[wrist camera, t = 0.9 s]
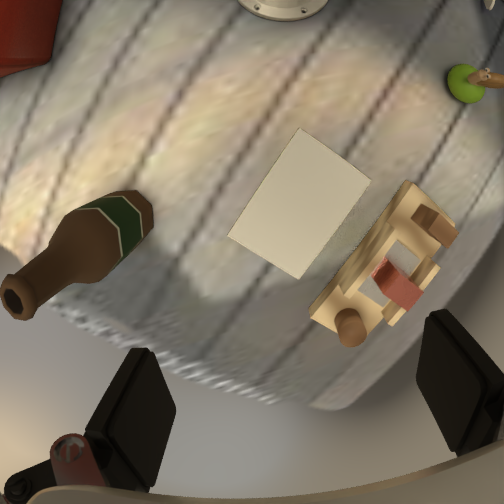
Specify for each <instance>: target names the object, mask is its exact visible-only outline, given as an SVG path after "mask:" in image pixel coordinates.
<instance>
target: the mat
mask: <svg viewBox="0 0 504 504" xmlns="http://www.w3.org/2000/svg"><path fill="white" fill-rule="evenodd" d="M370 182H371V180H370V179H369V178H368V177H366V176H365V175H364V174H363V173H361V172H360V171H359V170H357V169H356V168H355V167H354V166H352V165H351V164H350V163H348V162H347V161H346V160H344V159H343V158H342V157H340V156H339V155H337V154H336V153H335V152H333V151H332V150H331V149H329V148H328V147H326V146H325V145H324V144H322V143H321V142H319V141H318V140H316V139H315V138H314V137H312V136H311V135H309V134H308V133H306V132H305V131H303V130H302V129H300V128H299V129H298V130H297V131H296V133H295V134H294V136H293V137H292V139H291V140H290V142H289V143H288V145H287V146H286V147H285V149H284V150H283V152H282V153H281V155H280V156H279V158H278V159H277V161H276V162H275V164H274V165H273V167H272V168H271V170H270V171H269V173H268V174H267V176H266V177H265V179H264V180H263V182H262V183H261V185H260V186H259V188H258V189H257V191H256V192H255V194H254V195H253V197H252V198H251V200H250V201H249V203H248V204H247V206H246V207H245V209H244V210H243V212H242V213H241V215H240V216H239V218H238V219H237V221H236V223H235V224H234V226H233V227H232V229H231V230H230V232H229V233H228V235H227V236H228V237H230V238H232V239H233V240H235V241H236V242H238V243H240V244H241V245H243V246H245V247H246V248H248V249H249V250H251V251H253V252H254V253H256V254H258V255H259V256H261V257H262V258H264V259H266V260H267V261H269V262H271V263H272V264H274V265H275V266H277V267H279V268H280V269H282V270H283V271H285V272H287V273H288V274H290V275H292V276H293V277H295V278H296V279H298V280H299V279H300V277H301V276H302V275H303V273H304V272H305V271H306V270H307V268H308V267H309V266H310V264H311V263H312V262H313V260H314V259H315V258H316V256H317V255H318V254H319V252H320V251H321V250H322V248H323V247H324V246H325V244H326V243H327V242H328V240H329V239H330V238H331V236H332V235H333V234H334V232H335V231H336V230H337V228H338V227H339V226H340V224H341V223H342V221H343V220H344V219H345V217H346V216H347V215H348V213H349V212H350V210H351V209H352V208H353V206H354V205H355V203H356V202H357V201H358V199H359V198H360V196H361V195H362V194H363V192H364V191H365V189H366V188H367V187H368V185H369V184H370Z"/></svg>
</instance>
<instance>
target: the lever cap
mask: <svg viewBox="0 0 504 504" xmlns="http://www.w3.org/2000/svg"><path fill="white" fill-rule="evenodd" d="M420 262H421V260H420V259H419V258H418V257H416V256H415V255H414V254H413V253H412V252H410V251H409V250H408V249H407V248H406V247H404V246H403V245H402V244H401V243H400V242H398V241H397V240H396V241H395V242H394V244H393V245H392V246H391V248H390V249H389V250H388V252H387V253H386V254H385V256H384V257H383V258H382V259H381V261H380V262H379V263H378V265H377V266H376V267H375V268H374V270H373V271H372V272H371V273H370V275H369V276H368V277H367V278H366V280H365V281H364V282H363V283H362V285H361V286H360V287H359V288H358V291H359V292H361V293H362V294H364V295H365V296H367V297H368V298H370V299H371V300H373V301H374V302H376V303H377V304H379V305H380V306H382V307H384V306H385V305H386V304H387V303H388V301H389V300H390V299H391V300H392V301H393V302H395V303H396V304H398V305H399V306H400V307H402V308H403V309H405V310H406V311H407V312H408V311H409V310H410V308H411V307H412V306H413V305H414V304H415V302H416V301H417V300H418V299H419V298H420V296H421V295H422V294H423V293H424V292H423V291H422V290H421V289H420V287H419V286H418V285H417V284H416V283H415V282H414V281H413V280H412V278H411V277H410V275H411V273H412V272H413V271H414V269H415V268H416V267H417V266H418V264H419V263H420Z"/></svg>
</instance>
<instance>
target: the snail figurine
mask: <svg viewBox="0 0 504 504" xmlns="http://www.w3.org/2000/svg"><path fill="white" fill-rule="evenodd" d="M448 86H449V89H450V91H451V93H452V94H453V95H454V96H455V97H456V98H457V99H458V100H460V101H462V102H464V103H475V102H478V101H479V100H480V99H481V98H482V97H483V95H484V93H485V87H488V88H503V87H504V75H501V74H497V73H491V72H490V70H489V68H486V69H485V70H479V71H478V70H477V69H476V68H474V67H473V66H470V65H468V64H458V65H456V66H454V67H453V68H452V69H451V70H450V72H449V74H448Z"/></svg>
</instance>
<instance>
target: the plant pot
mask: <svg viewBox="0 0 504 504" xmlns="http://www.w3.org/2000/svg"><path fill="white" fill-rule="evenodd" d="M61 4H62V0H0V77H3V76H6V75H9V74H12V73H15V72H18V71H21V70H25V69H28V68H32V67H35V66H39V65H43V64H46V63H47V62H48V61H49V60H50V58H51V54H52V48H53V42H54V36H55V31H56V26H57V22H58V17H59V12H60V9H61Z"/></svg>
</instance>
